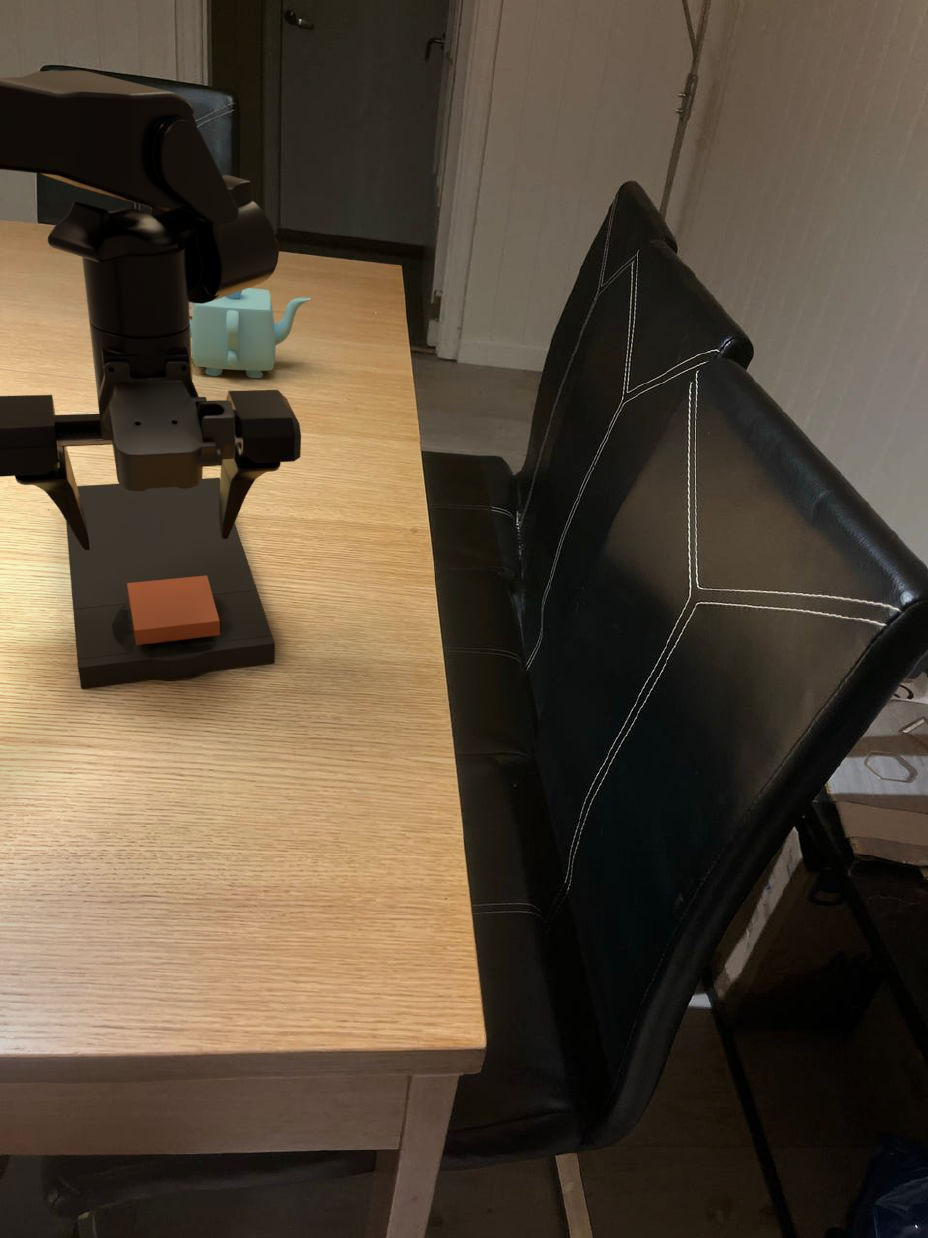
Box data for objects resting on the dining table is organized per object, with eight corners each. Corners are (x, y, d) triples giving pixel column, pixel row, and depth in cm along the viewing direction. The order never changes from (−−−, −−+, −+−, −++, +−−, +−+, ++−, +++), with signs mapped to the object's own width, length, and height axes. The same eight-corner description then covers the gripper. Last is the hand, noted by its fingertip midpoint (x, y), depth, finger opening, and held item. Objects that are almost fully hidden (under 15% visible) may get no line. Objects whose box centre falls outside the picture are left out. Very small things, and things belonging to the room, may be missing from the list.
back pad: (276, 666, 70) (276, 646, 69) (81, 693, 65) (78, 672, 64) (220, 495, 89) (219, 477, 88) (66, 505, 84) (63, 486, 83)
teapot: (156, 382, 108) (150, 296, 102) (165, 338, 118) (160, 258, 112) (310, 390, 112) (313, 308, 106) (305, 346, 122) (308, 270, 116)
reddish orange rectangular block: (138, 672, 68) (134, 630, 65) (131, 623, 72) (126, 582, 70) (221, 661, 70) (219, 620, 68) (208, 615, 74) (207, 575, 72)
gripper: (-42, 378, 45) (9, 626, 54) (326, 372, 52) (316, 594, 61) (-34, 300, 53) (9, 528, 62) (284, 304, 60) (280, 509, 69)
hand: (157, 541), depth 63 cm, fingers open, 9 cm apart
